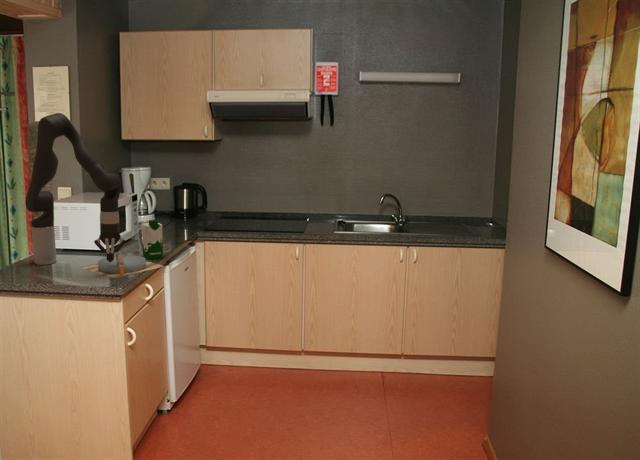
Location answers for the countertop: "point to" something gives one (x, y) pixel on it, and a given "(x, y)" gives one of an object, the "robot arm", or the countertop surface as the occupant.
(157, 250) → the milk carton
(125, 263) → the cam dial
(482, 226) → the countertop surface
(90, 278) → the countertop surface
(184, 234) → the countertop surface
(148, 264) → the birch board
